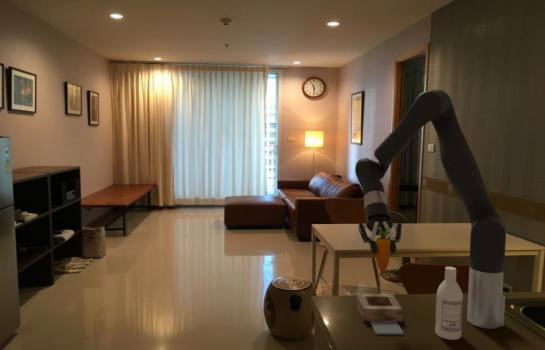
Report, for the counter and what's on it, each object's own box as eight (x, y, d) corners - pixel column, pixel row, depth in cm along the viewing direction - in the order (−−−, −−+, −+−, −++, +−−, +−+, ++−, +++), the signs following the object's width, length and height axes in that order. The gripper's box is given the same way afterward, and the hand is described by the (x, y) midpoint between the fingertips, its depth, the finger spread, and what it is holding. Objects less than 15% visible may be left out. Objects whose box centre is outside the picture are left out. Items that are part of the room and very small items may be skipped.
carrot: (388, 270, 131) (388, 224, 129) (392, 276, 126) (393, 228, 124) (372, 271, 130) (372, 225, 129) (376, 276, 126) (377, 228, 124)
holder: (391, 305, 139) (392, 293, 138) (402, 321, 127) (402, 309, 126) (356, 304, 139) (356, 293, 139) (363, 321, 127) (363, 308, 127)
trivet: (396, 322, 126) (396, 320, 126) (403, 335, 118) (403, 333, 118) (370, 322, 127) (370, 320, 127) (375, 334, 119) (375, 332, 119)
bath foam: (466, 338, 116) (469, 271, 114) (445, 342, 114) (448, 273, 112) (450, 327, 123) (453, 263, 121) (430, 330, 121) (432, 265, 119)
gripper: (356, 201, 133) (362, 247, 123) (400, 200, 133) (410, 247, 122) (353, 214, 139) (359, 259, 129) (396, 213, 139) (405, 259, 128)
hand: (384, 253), depth 125 cm, fingers closed on carrot, 5 cm apart
